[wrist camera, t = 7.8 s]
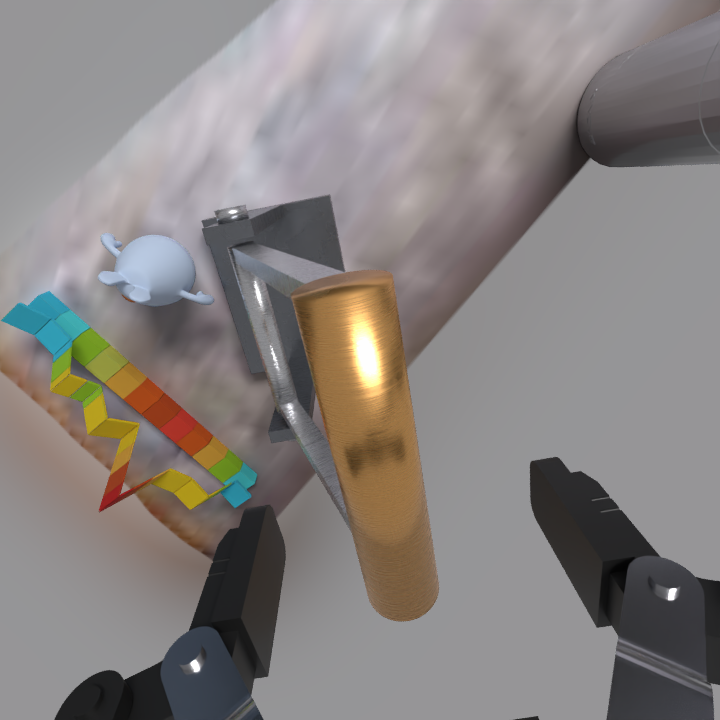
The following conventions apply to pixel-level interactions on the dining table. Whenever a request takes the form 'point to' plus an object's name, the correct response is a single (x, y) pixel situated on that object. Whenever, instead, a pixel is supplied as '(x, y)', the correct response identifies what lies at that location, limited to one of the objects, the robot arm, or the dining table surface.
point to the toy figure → (152, 271)
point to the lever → (351, 413)
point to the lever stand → (289, 235)
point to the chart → (82, 343)
